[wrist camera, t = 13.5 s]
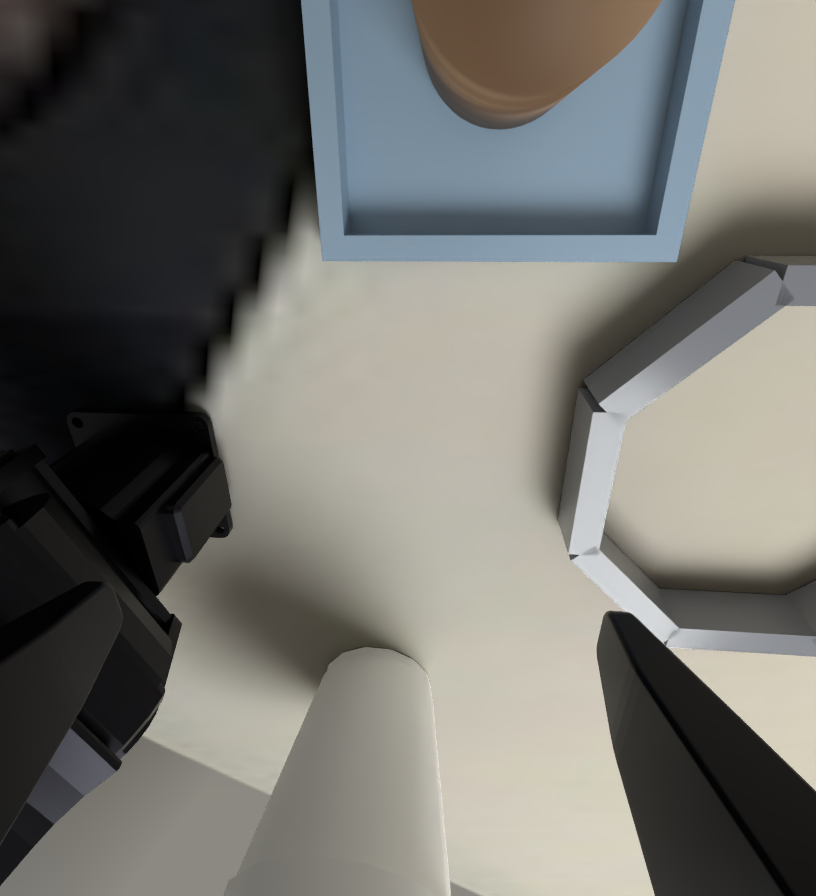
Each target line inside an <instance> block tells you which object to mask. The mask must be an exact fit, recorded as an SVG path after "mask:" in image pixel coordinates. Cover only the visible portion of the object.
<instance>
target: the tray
mask: <svg viewBox="0 0 816 896" xmlns="http://www.w3.org/2000/svg"><path fill="white" fill-rule="evenodd" d="M734 3H735V0H662V1H661V3H660V5H659V6H658V8H657V9H656V11H655V12H654V14H653V15H652V16H651V18H650V19H649V21H648V22H647V24H646V25H645V26H644V27H643V28H642V30H641V31H640V32H639V33H638V34H637V35H636V37H635V38H634V39H633V40H632V41H631V42H630V43H629V44H628V45H627V46H626V47H625V48H624V49H623V50H622V51H621V52H620V53H619V54H618V55H617V56H615V57H614V58H613V59H612V60H610V61H609V62H608V63H607V64H606V65H604V66H603V67H602V68H601V69H599V70H598V71H597V72H596V73H595V74H593V75H592V76H591V77H590V78H588V79H587V80H586V81H585V82H583V83H582V84H581V85H580V86H579V87H577V88H576V89H575V90H574V91H572V92H571V93H570V94H569V95H568V96H566V97H565V98H564V99H563V100H561V101H560V102H559V103H558V104H557V105H555V106H554V107H553V108H552V109H550V110H549V111H548V112H546V113H545V114H544V115H542V116H541V117H539V118H537V119H536V120H534V121H532V122H530V123H527V124H525V125H523V126H519V127H515V128H511V129H502V130H497V129H487V128H482V127H479V126H476V125H473V124H471V123H469V122H467V121H465V120H464V119H462V118H460V117H459V116H458V115H457V114H455V113H454V112H453V111H452V110H451V109H450V108H449V107H448V106H447V105H446V104H445V103H444V101H443V100H442V99H441V97H440V96H439V95H438V93H437V91H436V89H435V88H434V86H433V84H432V81H431V79H430V76H429V74H428V71H427V68H426V64H425V60H424V56H423V51H422V47H421V42H420V38H419V33H418V28H417V24H416V19H415V15H414V10H413V5H412V1H411V0H301V5H302V17H303V30H304V42H305V54H306V67H307V79H308V91H309V104H310V116H311V129H312V141H313V153H314V166H315V178H316V190H317V203H318V215H319V228H320V240H321V252H322V261H477V262H677V258H678V254H679V249H680V245H681V240H682V236H683V232H684V227H685V223H686V218H687V214H688V209H689V205H690V200H691V196H692V191H693V187H694V182H695V178H696V173H697V169H698V164H699V160H700V155H701V151H702V146H703V142H704V137H705V133H706V129H707V124H708V120H709V115H710V111H711V106H712V102H713V97H714V93H715V88H716V84H717V79H718V75H719V70H720V66H721V61H722V57H723V52H724V48H725V43H726V39H727V34H728V30H729V26H730V21H731V17H732V12H733V8H734Z"/></svg>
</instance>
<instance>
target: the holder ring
mask: <svg viewBox="0 0 816 896" xmlns="http://www.w3.org/2000/svg"><path fill="white" fill-rule="evenodd" d="M784 306H816V256H746V259H745V262H741V261H737V260H735V261H733V262H732V263H731V264H729V265H728V266H727V267H726V268H724V269H723V270H722V271H721V272H719V273H718V274H717V275H716V276H714V277H713V278H712V279H710V280H709V281H708V282H707V283H705V284H704V285H703V286H702V287H700V288H699V289H698V290H697V291H695V292H694V293H693V294H692V295H690V296H689V297H688V298H686V299H685V300H684V301H683V302H681V303H680V304H679V305H678V306H676V307H675V308H674V309H673V310H671V311H670V312H669V313H667V314H666V315H665V316H664V317H662V318H661V319H660V320H659V321H657V322H656V323H655V324H654V325H652V326H651V327H650V328H648V329H647V330H646V331H645V332H643V333H642V334H641V335H640V336H638V337H637V338H636V339H635V340H633V341H632V342H631V343H629V344H628V345H627V346H626V347H624V348H623V349H622V350H621V351H619V352H618V353H617V354H616V355H614V356H613V357H612V358H610V359H609V360H608V361H607V362H605V363H604V364H603V365H602V366H600V367H599V368H598V369H597V370H595V371H594V372H593V373H591V374H590V375H589V376H588V377H586V378H585V379H584V380H583V381H584V382H585V384H586V385H587V387H588V388H578V393H577V399H576V406H575V412H574V419H573V425H572V431H571V438H570V444H569V451H568V457H567V464H566V470H565V476H564V483H563V489H562V496H561V502H560V508H559V515H558V521H559V525H560V528H561V531H562V535H563V538H564V541H565V545H566V548H567V551H568V554H569V556H570V560H571V561H572V562H573V563H574V564H575V565H576V566H577V567H578V568H579V569H580V570H581V571H582V572H583V573H584V574H585V575H586V576H588V577H589V578H590V579H591V580H592V581H593V582H594V583H595V584H596V585H597V586H598V587H599V588H600V589H601V590H602V591H603V592H604V593H605V594H606V595H608V596H609V597H610V598H611V599H612V600H613V601H614V602H615V603H616V604H617V605H618V606H619V607H620V608H621V609H622V610H623V611H624V612H630V613H632V614H633V615H634V616H635V617H637V618H638V619H639V620H640V621H641V622H642V623H643V624H644V625H645V626H646V627H647V628H648V629H649V630H650V631H651V632H652V633H653V634H654V635H655V636H656V637H657V638H658V639H659V640H660V641H661V642H662V643H663V642H664V644H665V646H666V647H671V648H687V649H703V650H719V651H734V652H750V653H766V654H782V655H798V656H814V657H816V580H815V581H813V582H811V583H809V584H807V585H805V586H803V587H801V588H799V589H797V590H795V591H793V592H791V593H789V594H787V595H769V594H750V593H732V592H713V591H694V590H676V589H659V588H658V587H657V586H656V585H655V584H654V583H653V582H652V581H651V580H650V579H649V578H648V577H647V576H646V575H645V574H644V573H643V572H642V571H641V570H640V569H639V568H638V567H637V566H636V565H635V564H634V563H633V562H632V561H631V560H630V559H629V558H628V557H627V556H626V555H625V554H624V553H623V552H622V551H621V550H620V549H619V548H618V547H617V546H616V545H615V544H614V543H613V542H612V541H611V540H610V539H609V538H608V537H607V536H606V535H605V534H604V533H603V529H604V525H605V520H606V515H607V510H608V505H609V501H610V496H611V491H612V486H613V481H614V477H615V472H616V467H617V462H618V457H619V453H620V448H621V443H622V438H623V433H624V429H625V424H626V421H627V420H628V419H630V418H631V417H632V416H634V415H635V414H637V413H638V412H639V411H641V410H642V409H644V408H645V407H646V406H648V405H649V404H650V403H652V402H653V401H655V400H656V399H657V398H659V397H660V396H661V395H663V394H664V393H666V392H667V391H668V390H670V389H671V388H673V387H674V386H675V385H677V384H678V383H679V382H681V381H682V380H684V379H685V378H686V377H688V376H689V375H690V374H692V373H693V372H695V371H696V370H697V369H699V368H700V367H702V366H703V365H704V364H706V363H707V362H708V361H710V360H711V359H713V358H714V357H715V356H717V355H718V354H719V353H721V352H722V351H724V350H725V349H726V348H728V347H729V346H731V345H732V344H733V343H735V342H736V341H737V340H739V339H740V338H742V337H743V336H744V335H746V334H747V333H748V332H750V331H751V330H753V329H754V328H755V327H757V326H758V325H760V324H761V323H762V322H764V321H765V320H766V319H768V318H769V317H771V316H772V315H773V314H775V313H776V312H777V311H779V310H780V309H782V308H783V307H784Z"/></svg>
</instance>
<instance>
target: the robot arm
mask: <svg viewBox="0 0 816 896" xmlns="http://www.w3.org/2000/svg"><path fill="white" fill-rule="evenodd" d="M78 418H79V419H81V420H82V422H83V424H82V423H81V422H80V421H79V420H78ZM66 420H67V424H68V427H69V430H70V433H71V436H72V438H73V441H74V444H75V447H76V448H74V449H73V450H71V451H70V452H68V453H67V454H65V455H64V456H62V457H61V458H60V459H58V460H57V461H55V462H54V463H52V464H51V465H48V464H47V463H46V461H45V460H44V458H45V457H46V456H45V455H44V454H43V453H42V451H41V450H40V449H39V448H38V446H37V445H36V444H33V445H31V446H28V447H26V448H24V449H21V450H19V451H17V452H14V450H13V449H11V450H8V451H6V452H4V451H1V452H0V885H1V884H2V883H3V882H4V881H5V879H6V878H7V877H8V876H9V875H10V874H11V872H12V871H13V870H14V869H15V868H16V867H17V866H18V864H19V863H20V862H21V861H22V860H23V859H24V857H25V856H26V855H27V854H28V853H29V851H30V850H31V849H32V848H33V847H34V846H35V845H36V844H37V843H38V841H39V840H40V839H41V838H42V837H43V836H44V835H45V834H46V832H47V831H48V830H49V829H50V828H51V827H52V826H53V825H54V824H55V823H56V822H57V821H58V820H59V819H60V818H61V817H62V816H63V815H65V813H67V812H68V811H69V810H70V809H71V808H72V807H73V806H74V805H75V804H76V803H77V802H78V801H79V800H80V799H81V798H83V797H84V796H85V795H86V794H88V793H89V792H90V791H92V790H93V789H94V788H96V787H97V786H98V785H100V784H101V783H102V782H103V781H105V780H106V779H107V778H109V777H110V776H111V775H113V774H114V773H115V772H116V771H117V770H118V769H119V768H120V766H121V764H122V761H121V760H120V759H121V758H122V757H123V756H124V755H125V754H126V753H127V752H128V751H129V750H130V749H131V748H132V747H133V746H134V744H135V743H136V742H137V741H138V740H139V739H140V737H141V736H142V735H143V733H144V732H145V731H146V729H147V728H148V727H149V725H150V723H151V722H152V720H153V718H154V716H155V715H156V713H157V710H158V707H159V705H160V703H161V702H162V700H163V697H164V694H165V684H166V680H167V677H168V673H169V670H170V666H171V662H172V659H173V655H174V651H175V648H176V644H177V640H178V637H179V633H180V630H181V626H182V623H181V622H180V621H179V620H178V618H177V617H176V616H175V615H174V614H170V613H169V612H168V611H167V609H166V608H165V607H164V606H163V604H162V603H161V602H160V601H159V600H158V598H157V597H156V596H158V595H159V593H160V592H161V591H162V589H163V588H164V587H165V585H166V584H167V583H168V581H169V580H170V579H171V577H172V576H173V574H174V573H175V572H176V570H177V569H178V568H179V566H180V565H181V564H182V563H190V562H191V561H192V560H193V559H194V558H195V557H196V555H197V554H198V553H199V551H200V550H201V548H202V547H203V546H204V544H205V543H206V541H207V540H208V539H209V537H215V538H224V537H226V536H228V535H229V533H230V532H231V530H232V528H233V524H232V519H231V515H230V510H229V509H230V508H231V499H230V494H229V489H228V484H227V479H226V474H225V470H224V465H223V461H222V460H221V459H220V458H219V456H218V451H217V446H216V441H215V436H214V431H213V426H212V422H211V420H210V418H209V417H208V416H207V415H206V414H204V413H200V412H176V411H141V410H106V409H76V410H74V411H73V412H71V413H69V414H68V415H67V418H66ZM195 421H198V422H200V423H201V424H202V428H201V427H198V426H197V425H196V423H195ZM218 525H220V526H222V527H223V528H224V529H222V528H220V527H219V526H218ZM597 660H598V665H599V671H600V677H601V683H602V688H603V694H604V700H605V706H606V711H607V717H608V723H609V729H610V734H611V739H612V744H613V749H614V753H615V757H616V761H617V765H618V768H619V772H620V775H621V779H622V782H623V786H624V789H625V793H626V796H627V799H628V803H629V806H630V810H631V813H632V817H633V820H634V824H635V827H636V831H637V834H638V838H639V841H640V845H641V848H642V852H643V855H644V859H645V862H646V866H647V869H648V873H649V876H650V880H651V883H652V887H653V890H654V894H655V896H816V791H815V790H814V789H813V788H812V787H811V786H810V785H809V784H808V783H807V782H806V781H805V780H804V779H803V778H802V777H801V776H800V775H799V774H798V773H797V772H796V771H795V770H794V769H793V768H791V767H790V766H789V765H788V764H787V763H786V762H785V761H784V760H783V759H782V758H781V757H780V756H779V755H778V754H777V753H776V752H775V751H774V750H773V749H772V748H771V747H770V746H769V745H768V744H767V743H766V742H765V741H764V740H763V739H762V738H760V737H759V736H758V735H757V734H756V733H755V732H754V731H753V730H752V729H751V728H750V727H749V726H748V725H747V724H746V723H745V722H744V721H743V720H742V719H741V718H740V717H739V716H738V715H737V714H736V713H735V712H734V711H733V710H732V709H731V708H729V707H728V706H727V705H726V704H725V703H724V702H723V701H722V700H721V699H720V698H719V697H718V696H717V695H716V694H715V693H714V692H713V691H712V690H711V689H710V688H709V687H708V686H707V685H706V684H705V683H704V682H703V681H702V680H701V679H700V678H699V677H697V676H696V675H695V674H694V673H693V672H692V671H691V670H690V669H689V668H688V667H687V666H686V665H685V664H684V663H683V662H682V661H681V660H680V659H679V658H678V657H677V656H676V655H675V654H674V653H673V652H672V651H671V650H670V649H669V648H668V647H666V646H665V645H664V644H663V643H662V642H661V641H660V640H659V639H658V638H657V637H656V636H655V635H654V634H653V633H652V632H651V631H650V630H649V629H648V628H647V627H646V626H645V625H644V624H643V623H642V622H641V621H640V620H639V619H638V618H637V617H635V616H634V615H633V614H632V613H630V612H622V611H607V612H606V613H605V614H604V617H603V621H602V625H601V629H600V634H599V638H598V642H597Z"/></svg>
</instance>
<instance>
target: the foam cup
mask: <svg viewBox="0 0 816 896" xmlns="http://www.w3.org/2000/svg"><path fill="white" fill-rule="evenodd" d="M224 896H451V891H450V880H449V869H448V858H447V847H446V837H445V826H444V815H443V804H442V794H441V783H440V772H439V761H438V750H437V740H436V729H435V718H434V707H433V699H432V690H431V686H430V682H429V678H428V674H427V673H426V672H425V671H424V670H423V669H422V668H421V667H420V666H419V665H418V664H417V663H416V662H415V661H414V660H413V659H411V658H409V657H407V656H404V655H402V654H400V653H398V652H395V651H393V650H391V649H381V648H371V647H363V648H359V649H355V650H351V651H347V652H343V653H342V654H341V655H340V656H338V657H337V658H336V659H335V660H334V661H332V662H331V663H330V664H329V665H328V668H327V672H326V673H324V676H323V678H322V680H321V682H320V685H319V687H318V689H317V692H316V694H315V696H314V698H313V701H312V703H311V705H310V708H309V710H308V712H307V715H306V717H305V719H304V721H303V724H302V726H301V728H300V731H299V733H298V735H297V737H296V740H295V742H294V744H293V747H292V749H291V751H290V754H289V756H288V758H287V760H286V763H285V765H284V767H283V770H282V772H281V774H280V776H279V779H278V781H277V783H276V786H275V788H274V790H273V793H272V795H271V797H270V799H269V802H268V804H267V807H266V809H265V811H264V813H263V816H262V818H261V820H260V823H259V825H258V827H257V829H256V832H255V834H254V836H253V839H252V841H251V843H250V845H249V848H248V850H247V852H246V855H245V857H244V860H243V861H242V864H241V866H240V868H239V871H238V873H237V875H236V876H235V877H233V878H232V879H230V880H229V881H228V884H227V887H226V890H225V893H224Z"/></svg>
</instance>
